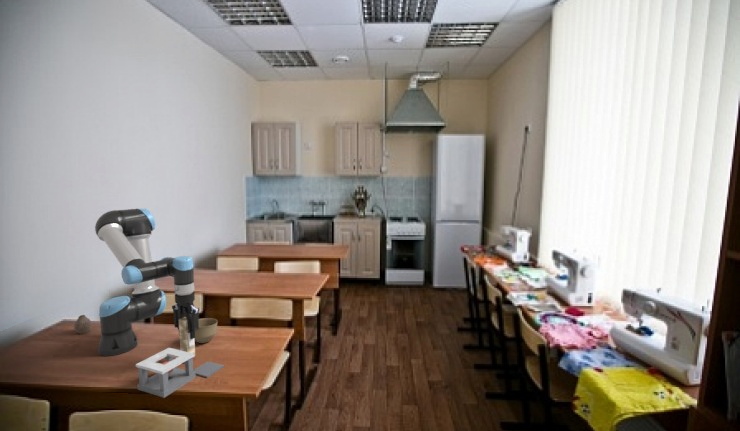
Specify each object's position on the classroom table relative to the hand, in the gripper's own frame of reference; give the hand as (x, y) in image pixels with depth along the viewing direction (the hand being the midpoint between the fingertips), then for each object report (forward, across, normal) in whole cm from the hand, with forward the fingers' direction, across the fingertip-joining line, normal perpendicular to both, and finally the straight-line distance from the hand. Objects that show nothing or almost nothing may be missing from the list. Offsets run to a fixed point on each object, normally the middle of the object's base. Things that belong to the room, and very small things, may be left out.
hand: (187, 344), depth 154 cm
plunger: (+4, +7, -16) cm, 18 cm away
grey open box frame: (+7, +7, -16) cm, 19 cm away
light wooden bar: (+6, 0, 0) cm, 6 cm away
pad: (+7, +14, -3) cm, 16 cm away
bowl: (+8, -8, +16) cm, 19 cm away
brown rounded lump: (+8, -74, +1) cm, 75 cm away
